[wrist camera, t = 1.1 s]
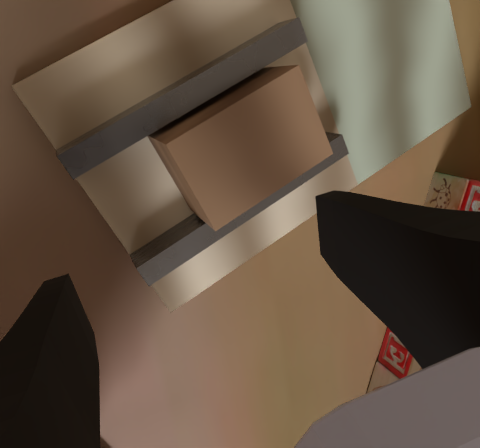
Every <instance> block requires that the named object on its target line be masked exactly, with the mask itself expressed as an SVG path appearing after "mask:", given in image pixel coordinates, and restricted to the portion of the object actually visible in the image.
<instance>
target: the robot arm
mask: <svg viewBox="0 0 480 448" xmlns="http://www.w3.org/2000/svg"><path fill="white" fill-rule="evenodd" d="M315 199H316V210H317V220H318V231H319V241H320V252H321V255H322V257H323V258H324V259H325V261H326V262H327V264H328V265H329V266H330V268H331V269H332V270H333V272H334V273H335V274H336V276H337V277H338V278H339V279H340V280H341V281H342V282H343V283H344V284H345V285H346V286H347V287H348V288H349V289H350V290H351V291H352V292H353V293H354V294H355V295H356V296H357V297H358V298H359V299H360V300H361V301H362V302H363V303H364V304H365V305H366V306H367V307H368V308H369V309H370V310H371V311H372V312H373V313H374V314H375V315H376V316H377V317H378V318H379V319H380V320H381V321H382V322H383V323H384V324H385V325H386V326H387V327H388V328H389V329H390V330H391V331H392V332H393V333H394V334H395V336H396V337H397V338H398V339H399V340H400V342H401V343H402V344H403V345H404V347H405V348H406V349H407V350H408V351H409V353H410V354H411V355H412V356H413V358H414V359H415V360H416V361H417V363H418V364H419V365H420V367H421V368H422V370H420V371H417V372H415V373H413V374H410V375H408V376H406V377H404V378H401V379H399V380H397V381H394V382H392V383H390V384H388V385H385V386H383V387H381V388H378V389H376V390H374V391H372V392H369V393H367V394H365V395H362V396H360V397H358V398H355V399H353V400H351V401H349V402H346V403H344V404H342V405H340V406H338V407H337V408H335V409H334V410H332V411H331V412H329V413H328V414H326V415H325V416H323V417H322V418H320V419H318V420H317V421H315V422H314V423H313V424H312V425H311V426H310V427H309V429H308V430H307V431H306V433H305V434H304V435H303V437H302V438H301V439H300V440H299V442H298V443H297V444H296V446H295V447H294V448H480V211H464V210H452V209H441V208H433V207H426V206H420V205H413V204H407V203H402V202H396V201H391V200H386V199H381V198H376V197H372V196H367V195H362V194H357V193H351V192H345V191H336V190H333V191H330V192H327V193H324V194H320V195H317V196H315ZM0 448H100V396H99V362H98V355H97V348H96V342H95V336H94V332H93V329H92V327H91V325H90V322H89V320H88V318H87V315H86V313H85V311H84V309H83V306H82V304H81V302H80V299H79V297H78V295H77V292H76V290H75V288H74V285H73V283H72V281H71V278H70V276H69V274H66V275H63V276H60V277H57V278H53V279H50V280H47V281H45V282H44V283H43V284H42V285H41V287H40V288H39V289H38V291H37V292H36V294H35V295H34V297H33V298H32V300H31V301H30V302H29V304H28V305H27V307H26V308H25V310H24V311H23V312H22V314H21V315H20V317H19V318H18V320H17V321H16V322H15V324H14V325H13V327H12V328H11V329H10V330H9V332H8V333H7V334H6V335H5V337H4V338H3V339H2V340H1V342H0Z"/></svg>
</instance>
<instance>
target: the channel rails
mask: <svg viewBox="0 0 480 448" xmlns="http://www.w3.org/2000/svg"><path fill="white" fill-rule="evenodd" d="M306 42H308V40H307V37H306V34H305V32H304V29H303V26H302V23H301V21H300V18H299V17H297V18H294V19H290V20H286V21H283V22H279V23H278V24H276V25H274V26H272V27H271V28H269V29H267V30H265V31H264V32H262V33H260V34H258V35H257V36H255V37H253V38H251V39H250V40H248V41H246V42H244V43H243V44H241V45H239V46H237V47H236V48H234V49H232V50H230V51H229V52H227V53H225V54H223V55H221V56H220V57H218V58H216V59H214V60H213V61H211V62H209V63H207V64H206V65H204V66H202V67H200V68H199V69H197V70H195V71H193V72H192V73H190V74H188V75H186V76H185V77H183V78H181V79H179V80H178V81H176V82H174V83H172V84H171V85H169V86H167V87H165V88H164V89H162V90H160V91H158V92H157V93H155V94H153V95H151V96H150V97H148V98H146V99H144V100H143V101H141V102H139V103H137V104H136V105H134V106H132V107H130V108H129V109H127V110H125V111H123V112H122V113H120V114H118V115H116V116H114V117H113V118H111V119H109V120H107V121H106V122H104V123H102V124H100V125H99V126H97V127H95V128H93V129H92V130H90V131H88V132H86V133H85V134H83V135H81V136H79V137H78V138H76V139H74V140H72V141H71V142H69V143H67V144H65V145H64V146H62V147H60V148H58V149H57V150H56V155H57V157H58V159H59V160H60V162H61V163H62V164H63V166H64V167H65V169H66V170H67V171H68V173H69V174H70V176H71V177H72V178H73V180H74V179H75V178H77V177H79V176H80V175H82V174H84V173H86V172H87V171H89V170H91V169H92V168H94V167H96V166H97V165H99V164H101V163H103V162H104V161H106V160H108V159H109V158H111V157H113V156H114V155H116V154H118V153H119V152H121V151H123V150H125V149H126V148H128V147H130V146H131V145H133V144H135V143H136V142H138V141H140V140H142V139H143V138H145V137H147V136H148V135H150V134H152V133H153V132H155V131H157V130H159V129H160V128H162V127H164V126H165V125H167V124H169V123H170V122H172V121H174V120H175V119H177V118H179V117H181V116H182V115H184V114H186V113H187V112H189V111H191V110H192V109H194V108H196V107H198V106H199V105H201V104H203V103H204V102H206V101H208V100H209V99H211V98H213V97H215V96H216V95H218V94H220V93H221V92H223V91H225V90H226V89H228V88H230V87H231V86H233V85H235V84H237V83H238V82H240V81H242V80H243V79H245V78H247V77H248V76H250V75H252V74H254V73H255V72H257V71H259V70H260V69H262V68H264V67H265V66H267V65H269V64H271V63H272V62H274V61H276V60H277V59H279V58H281V57H282V56H284V55H286V54H287V53H289V52H291V51H293V50H294V49H296V48H298V47H299V46H301V45H303V44H304V43H306ZM325 133H326V136H327V139H328V141H329V144H330V146H331V149H332V152H333V154H332V155H331V156H329V157H328V158H326V159H324V160H323V161H321V162H320V163H318V164H317V165H315V166H314V167H312V168H311V169H309V170H308V171H306V172H305V173H303V174H302V175H300V176H299V177H297V178H296V179H294V180H293V181H291V182H290V183H288V184H287V185H285V186H284V187H282V188H280V189H279V190H277V191H276V192H274V193H273V194H271V195H270V196H268V197H267V198H265V199H264V200H262V201H261V202H259V203H258V204H256V205H255V206H253V207H252V208H250V209H249V210H247V211H246V212H244V213H243V214H241V215H240V216H238V217H237V218H235V219H233V220H232V221H230V222H229V223H227V224H226V225H224V226H223V227H221V228H220V229H218V230H217V231H214V230H213V229H212V228H211V227H210V226H209V225H208V224H206V223H205V222H204V221H203V220H202V219H201V218H200V217H198V216H197V215H196V214H195V213H194V214H192V215H190V216H189V217H187V218H186V219H184V220H183V221H181V222H180V223H178V224H176V225H175V226H173V227H172V228H170V229H169V230H167V231H166V232H164V233H162V234H161V235H159V236H158V237H156V238H155V239H153V240H152V241H150V242H148V243H147V244H145V245H144V246H142V247H141V248H139V249H138V250H136V251H134V252H133V253H131V254H130V257H131V259H132V261H133V263H134V265H135V267H136V269H137V270H138V272H139V273H140V275H141V276H142V277H143V279H144V280H145V282H146V283H147V284H148V286H150V285H152V284H153V283H155V282H156V281H158V280H159V279H161V278H162V277H164V276H165V275H167V274H168V273H170V272H171V271H173V270H174V269H176V268H177V267H179V266H180V265H182V264H183V263H185V262H187V261H188V260H190V259H191V258H193V257H194V256H196V255H197V254H199V253H200V252H202V251H203V250H205V249H206V248H208V247H209V246H211V245H212V244H214V243H215V242H217V241H218V240H220V239H221V238H223V237H224V236H226V235H227V234H229V233H230V232H232V231H233V230H235V229H236V228H238V227H239V226H241V225H242V224H244V223H245V222H247V221H248V220H250V219H251V218H253V217H254V216H256V215H257V214H259V213H260V212H262V211H263V210H265V209H266V208H268V207H269V206H271V205H272V204H274V203H275V202H277V201H278V200H280V199H281V198H283V197H284V196H286V195H287V194H289V193H290V192H292V191H293V190H295V189H296V188H298V187H299V186H301V185H302V184H304V183H305V182H307V181H308V180H310V179H311V178H313V177H314V176H316V175H317V174H319V173H320V172H322V171H323V170H325V169H326V168H328V167H329V166H331V165H332V164H334V163H335V162H337V161H338V160H340V159H341V158H343V157H344V156H346V155H347V154H349V152H348V149H347V146H346V144H345V141H344V138H343V135H342V134H337V133H331V132H325Z"/></svg>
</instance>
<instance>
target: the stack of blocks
mask: <svg viewBox="0 0 480 448" xmlns="http://www.w3.org/2000/svg"><path fill="white" fill-rule="evenodd" d="M424 206H426V207H433V208H441V209H452V210H464V211H480V181H478V180H473V179H468V178H461V177H457V176H452V175H448V174H443V173H438V172H435V173H434V175H433V178H432V181H431V184H430V188H429V191H428V194H427V197H426V200H425V204H424ZM420 370H422V368H421V367H420V365H419V364H418V363H417V361H416V360H415V359H414V358H413V356H412V355H411V354H410V353H409V351H408V350H407V349H406V348H405V347H404V345H403V344H402V343H401V342H400V340H399V339H398V338H397V337H396V336H395V334H394V333H393V332H392V331H391V330H390V329H389V328H388V327H387V330H386V334H385V337H384V340H383V343H382V347H381V350H380V353H379V357H378V361H377V362H376V364H375V368H374V371H373V375H372V378H371V381H370V384H369V388H368V391H367V393H369V392H372V391H374V390H376V389H378V388H381V387H383V386H385V385H388V384H390V383H392V382H394V381H397V380H399V379H401V378H404V377H406V376H408V375H410V374H413V373H415V372H417V371H420Z"/></svg>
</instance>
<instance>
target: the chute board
mask: <svg viewBox="0 0 480 448" xmlns="http://www.w3.org/2000/svg"><path fill="white" fill-rule="evenodd" d="M297 17H299V18H300V21H301V23H302V26H303V29H304V32H305V34H306V37H307V40H308V42H306V43H304V44H303V45H301V46H299V47H298V48H296V49H294V50H293V51H291V52H289V53H287V54H286V55H284V56H282V57H281V58H279V59H277V60H276V61H274V62H272V63H271V64H269V65H267V66H265V67H277V66H290V65H299V66H300V68H301V71H302V73H303V76H304V79H305V81H306V84H307V86H308V89H309V92H310V94H311V97H312V99H313V102H314V105H315V107H316V110H317V112H318V115H319V118H320V120H321V123H322V125H323V128H324V131H325V132H331V133H337V134H342V135H343V138H344V141H345V144H346V146H347V149H348V152H349V154H347V155H346V156H344V157H343V158H341V159H340V160H338V161H337V162H335V163H334V164H332V165H331V166H329V167H328V168H326V169H325V170H323V171H322V172H320V173H319V174H317V175H316V176H314V177H313V178H311V179H310V180H308V181H307V182H305V183H304V184H302V185H301V186H299V187H298V188H296V189H295V190H293V191H292V192H290V193H289V194H287V195H286V196H284V197H283V198H281V199H280V200H278V201H277V202H275V203H274V204H272V205H271V206H269V207H268V208H266V209H265V210H263V211H262V212H260V213H259V214H257V215H256V216H254V217H253V218H251V219H250V220H248V221H247V222H245V223H244V224H242V225H241V226H239V227H238V228H236V229H235V230H233V231H232V232H230V233H229V234H227V235H226V236H224V237H223V238H221V239H220V240H218V241H217V242H215V243H214V244H212V245H211V246H209V247H208V248H206V249H205V250H203V251H202V252H200V253H199V254H197V255H196V256H194V257H193V258H191V259H190V260H188V261H187V262H185V263H183V264H182V265H180V266H179V267H177V268H176V269H174V270H173V271H171V272H170V273H168V274H167V275H165V276H164V277H162V278H161V279H159V280H158V281H156V282H155V283H153V284H152V285H151V286H152V287H153V289H154V290H155V291H156V293H157V294H158V296H159V297H160V299H161V300H162V301H163V303H164V304H165V306H166V307H167V309H168V310H169V311H170V313H171V312H173V311H174V310H176V309H177V308H179V307H180V306H182V305H183V304H185V303H186V302H187V301H189V300H190V299H192V298H193V297H195V296H196V295H198V294H199V293H201V292H202V291H204V290H205V289H206V288H208V287H209V286H211V285H212V284H214V283H215V282H217V281H218V280H220V279H221V278H222V277H224V276H225V275H227V274H228V273H230V272H231V271H233V270H234V269H236V268H237V267H239V266H240V265H241V264H243V263H244V262H246V261H247V260H249V259H250V258H252V257H253V256H255V255H256V254H257V253H259V252H260V251H262V250H263V249H265V248H266V247H268V246H269V245H271V244H272V243H274V242H275V241H276V240H278V239H279V238H281V237H282V236H284V235H285V234H287V233H288V232H290V231H291V230H292V229H294V228H295V227H297V226H298V225H300V224H301V223H303V222H304V221H306V220H307V219H309V218H310V217H311V216H313V215H314V214H316V213H317V210H316V199H315V196H317V195H320V194H324V193H327V192H330V191H333V190H336V191H345V192H348V191H349V190H351V189H352V188H354V187H355V186H357V185H358V184H360V183H361V182H362V181H364V180H365V179H367V178H368V177H370V176H371V175H373V174H374V173H376V172H377V171H379V170H380V169H381V168H383V167H384V166H386V165H387V164H389V163H390V162H392V161H393V160H395V159H396V158H397V157H399V156H400V155H402V154H403V153H405V152H406V151H408V150H409V149H411V148H412V147H414V146H415V145H416V144H418V143H419V142H421V141H422V140H424V139H425V138H427V137H428V136H430V135H431V134H432V133H434V132H435V131H437V130H438V129H440V128H441V127H443V126H444V125H446V124H447V123H449V122H450V121H451V120H453V119H454V118H456V117H457V116H459V115H460V114H462V113H463V112H465V111H466V110H467V109H469V108H470V107H471V102H470V97H469V92H468V88H467V83H466V78H465V74H464V69H463V64H462V60H461V55H460V50H459V45H458V41H457V36H456V31H455V27H454V22H453V17H452V12H451V8H450V3H449V0H173V1H171V2H169V3H167V4H165V5H163V6H161V7H159V8H157V9H156V10H154V11H152V12H150V13H148V14H146V15H144V16H142V17H140V18H139V19H137V20H135V21H133V22H131V23H129V24H127V25H125V26H123V27H121V28H120V29H118V30H116V31H114V32H112V33H110V34H108V35H106V36H104V37H103V38H101V39H99V40H97V41H95V42H93V43H91V44H89V45H87V46H85V47H84V48H82V49H80V50H78V51H76V52H74V53H72V54H70V55H68V56H67V57H65V58H63V59H61V60H59V61H57V62H55V63H53V64H51V65H50V66H48V67H46V68H44V69H42V70H40V71H38V72H36V73H34V74H32V75H31V76H29V77H27V78H25V79H23V80H21V81H19V82H17V83H15V84H14V85H12V86H11V87H12V88H13V90H14V91H15V93H16V94H17V96H18V97H19V98H20V100H21V101H22V103H23V104H24V105H25V107H26V108H27V110H28V111H29V113H30V114H31V115H32V117H33V118H34V120H35V121H36V122H37V124H38V125H39V127H40V128H41V130H42V131H43V132H44V134H45V135H46V137H47V138H48V140H49V141H50V142H51V144H52V145H53V147H54V148H55V149H56V150H57V149H58V148H60V147H62V146H64V145H65V144H67V143H69V142H71V141H72V140H74V139H76V138H78V137H79V136H81V135H83V134H85V133H86V132H88V131H90V130H92V129H93V128H95V127H97V126H99V125H100V124H102V123H104V122H106V121H107V120H109V119H111V118H113V117H114V116H116V115H118V114H120V113H122V112H123V111H125V110H127V109H129V108H130V107H132V106H134V105H136V104H137V103H139V102H141V101H143V100H144V99H146V98H148V97H150V96H151V95H153V94H155V93H157V92H158V91H160V90H162V89H164V88H165V87H167V86H169V85H171V84H172V83H174V82H176V81H178V80H179V79H181V78H183V77H185V76H186V75H188V74H190V73H192V72H193V71H195V70H197V69H199V68H200V67H202V66H204V65H206V64H207V63H209V62H211V61H213V60H214V59H216V58H218V57H220V56H221V55H223V54H225V53H227V52H229V51H230V50H232V49H234V48H236V47H237V46H239V45H241V44H243V43H244V42H246V41H248V40H250V39H251V38H253V37H255V36H257V35H258V34H260V33H262V32H264V31H265V30H267V29H269V28H271V27H272V26H274V25H276V24H278V23H279V22H283V21H286V20H290V19H294V18H297ZM265 67H264V68H265ZM76 179H77V181H78V182H79V184H80V185H81V186H82V188H83V189H84V191H85V192H86V194H87V195H88V196H89V198H90V199H91V201H92V202H93V203H94V205H95V206H96V208H97V209H98V211H99V212H100V213H101V215H102V216H103V218H104V219H105V220H106V222H107V223H108V225H109V226H110V228H111V229H112V230H113V232H114V233H115V235H116V236H117V238H118V239H119V240H120V242H121V243H122V245H123V246H124V247H125V249H126V250H127V252H128V253H129V255H130V254H131V253H133V252H134V251H136V250H138V249H139V248H141V247H142V246H144V245H145V244H147V243H148V242H150V241H152V240H153V239H155V238H156V237H158V236H159V235H161V234H162V233H164V232H166V231H167V230H169V229H170V228H172V227H173V226H175V225H176V224H178V223H180V222H181V221H183V220H184V219H186V218H187V217H189V216H190V215H192V214H194V212H193V211H191V210H190V208H189V206H188V205H187V203H186V201H185V199H184V198H183V196H182V194H181V193H180V191H179V189H178V188H177V186H176V184H175V182H174V181H173V179H172V177H171V176H170V174H169V172H168V171H167V169H166V167H165V165H164V164H163V162H162V160H161V159H160V157H159V155H158V154H157V152H156V150H155V148H154V147H153V145H152V143H151V142H150V140H149V138H148V137H145V138H143V139H142V140H140V141H138V142H136V143H135V144H133V145H131V146H130V147H128V148H126V149H125V150H123V151H121V152H119V153H118V154H116V155H114V156H113V157H111V158H109V159H108V160H106V161H104V162H103V163H101V164H99V165H97V166H96V167H94V168H92V169H91V170H89V171H87V172H86V173H84V174H82V175H80V176H79V177H77V178H76Z"/></svg>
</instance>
